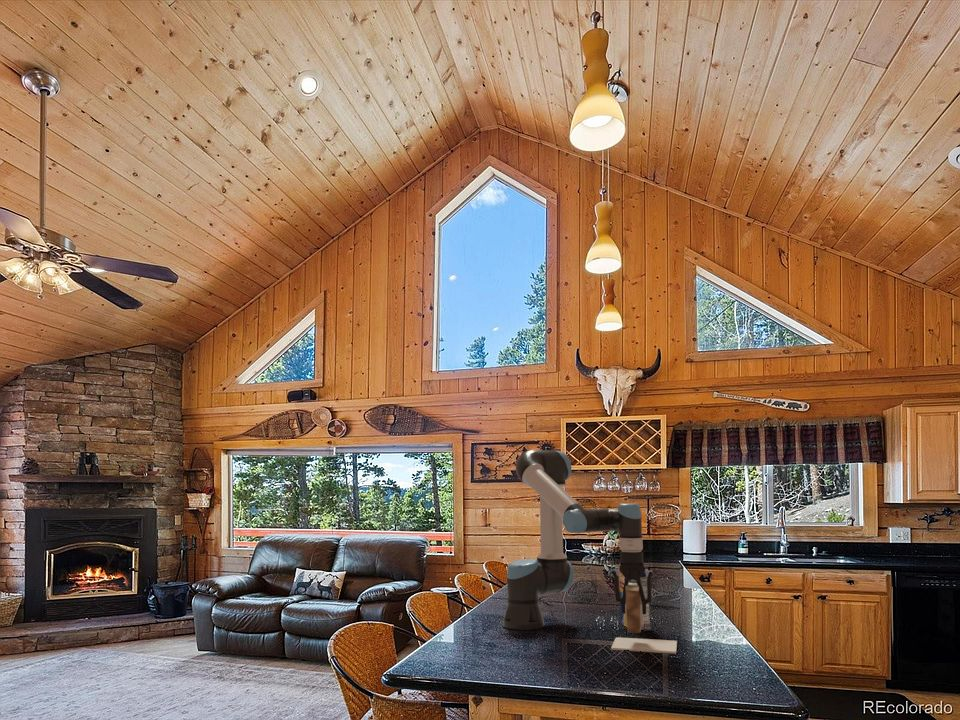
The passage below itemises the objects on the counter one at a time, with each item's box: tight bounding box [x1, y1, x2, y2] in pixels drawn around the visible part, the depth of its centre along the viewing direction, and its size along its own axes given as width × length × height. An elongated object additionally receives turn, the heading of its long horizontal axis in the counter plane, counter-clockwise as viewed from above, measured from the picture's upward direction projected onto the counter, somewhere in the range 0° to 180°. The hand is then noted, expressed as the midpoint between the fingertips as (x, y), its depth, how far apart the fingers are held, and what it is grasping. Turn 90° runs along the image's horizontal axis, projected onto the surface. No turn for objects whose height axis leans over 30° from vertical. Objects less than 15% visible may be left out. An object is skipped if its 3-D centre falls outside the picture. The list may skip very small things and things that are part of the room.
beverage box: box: [618, 563, 651, 631], centre depth 257 cm, size 7×11×22 cm, turn 11°
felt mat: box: [610, 637, 678, 655], centre depth 227 cm, size 20×15×1 cm
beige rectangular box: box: [626, 583, 642, 634], centre depth 230 cm, size 4×10×14 cm, turn 164°
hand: (634, 624), depth 229 cm, fingers closed on beige rectangular box, 4 cm apart
